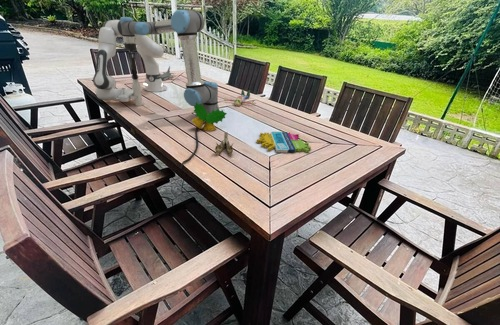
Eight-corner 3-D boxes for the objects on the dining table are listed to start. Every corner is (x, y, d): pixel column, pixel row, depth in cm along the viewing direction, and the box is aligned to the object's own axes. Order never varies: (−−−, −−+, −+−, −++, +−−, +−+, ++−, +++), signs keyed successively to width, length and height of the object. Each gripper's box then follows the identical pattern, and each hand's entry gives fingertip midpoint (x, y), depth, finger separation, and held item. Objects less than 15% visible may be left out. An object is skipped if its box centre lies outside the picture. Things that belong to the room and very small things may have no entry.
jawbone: (234, 135, 144) (233, 125, 135) (233, 160, 138) (232, 151, 129) (217, 135, 144) (216, 125, 135) (216, 160, 138) (214, 150, 129)
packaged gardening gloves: (313, 150, 142) (258, 149, 139) (312, 153, 143) (258, 152, 140) (301, 132, 164) (254, 130, 161) (301, 134, 165) (254, 133, 162)
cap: (136, 79, 186) (135, 76, 185) (130, 78, 186) (130, 75, 185) (139, 78, 189) (139, 75, 188) (134, 77, 190) (133, 74, 189)
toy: (261, 91, 228) (254, 99, 202) (261, 99, 231) (253, 108, 205) (231, 87, 233) (220, 95, 207) (230, 95, 236) (219, 104, 210)
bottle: (134, 105, 194) (129, 77, 185) (136, 103, 199) (131, 75, 189) (141, 105, 195) (137, 77, 185) (143, 103, 200) (139, 76, 190)
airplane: (145, 76, 282) (144, 66, 276) (174, 74, 295) (174, 65, 290) (151, 85, 253) (150, 74, 248) (183, 83, 266) (183, 72, 261)
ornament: (218, 133, 171) (224, 110, 169) (221, 134, 163) (227, 111, 161) (186, 125, 162) (192, 101, 160) (189, 126, 155) (195, 101, 153)
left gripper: (113, 94, 183) (133, 95, 184) (124, 87, 200) (142, 88, 201) (114, 103, 186) (134, 104, 187) (125, 95, 203) (143, 96, 204)
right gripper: (137, 44, 171) (142, 81, 183) (134, 41, 185) (139, 75, 196) (125, 44, 168) (130, 81, 180) (122, 41, 182) (128, 76, 193)
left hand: (138, 96), depth 194 cm, fingers closed on bottle, 5 cm apart
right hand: (135, 78), depth 188 cm, fingers closed on cap, 4 cm apart
